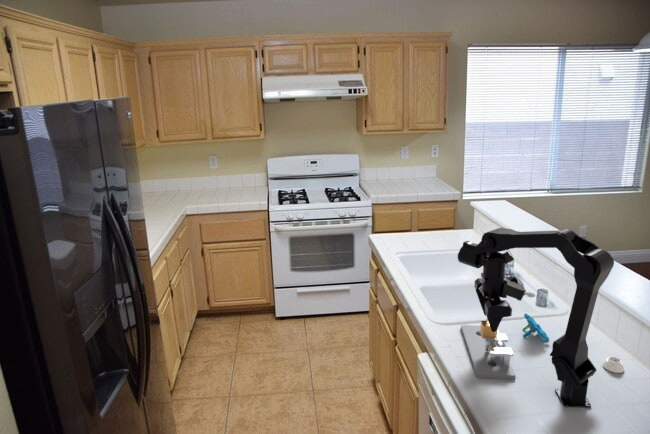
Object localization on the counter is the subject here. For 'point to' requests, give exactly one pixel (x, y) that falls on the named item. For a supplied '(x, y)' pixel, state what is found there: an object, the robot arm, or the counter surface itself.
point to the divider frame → (500, 353)
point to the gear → (534, 328)
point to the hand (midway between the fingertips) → (489, 323)
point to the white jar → (613, 364)
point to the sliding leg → (491, 335)
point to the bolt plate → (484, 355)
